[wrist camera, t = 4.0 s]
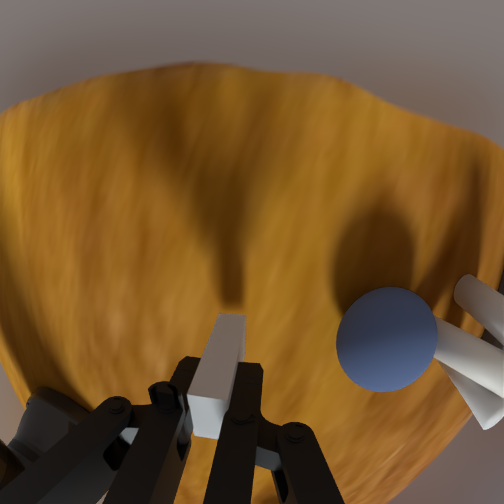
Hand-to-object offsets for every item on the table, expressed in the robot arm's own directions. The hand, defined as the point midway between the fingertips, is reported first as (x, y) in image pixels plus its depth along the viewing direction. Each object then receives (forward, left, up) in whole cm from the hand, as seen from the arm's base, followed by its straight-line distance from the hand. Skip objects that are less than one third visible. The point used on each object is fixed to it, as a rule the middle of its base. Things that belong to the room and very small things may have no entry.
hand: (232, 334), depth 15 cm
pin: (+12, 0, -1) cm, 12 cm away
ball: (+9, +1, +1) cm, 9 cm away
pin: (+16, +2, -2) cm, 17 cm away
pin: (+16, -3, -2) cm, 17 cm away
